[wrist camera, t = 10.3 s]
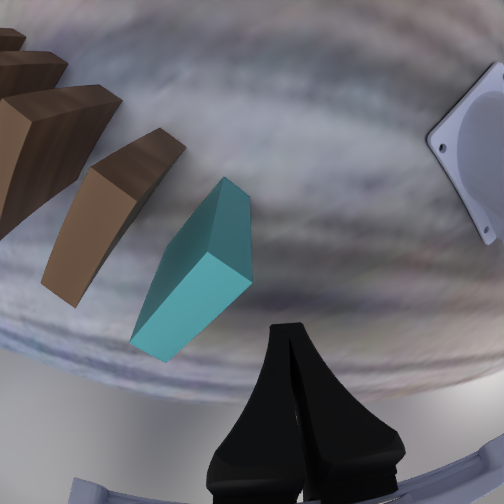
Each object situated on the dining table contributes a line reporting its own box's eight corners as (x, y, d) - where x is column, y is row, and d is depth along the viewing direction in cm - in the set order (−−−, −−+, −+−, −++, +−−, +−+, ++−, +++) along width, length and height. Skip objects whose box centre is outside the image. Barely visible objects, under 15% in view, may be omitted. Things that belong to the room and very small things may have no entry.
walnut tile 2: (186, 147, 13) (137, 201, 7) (132, 221, 15) (75, 308, 9) (160, 127, 13) (90, 167, 7) (109, 204, 15) (40, 283, 9)
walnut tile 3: (122, 100, 12) (32, 122, 6) (76, 180, 14) (-5, 245, 8) (99, 84, 11) (1, 98, 5) (56, 164, 13) (-30, 221, 7)
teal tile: (249, 196, 15) (252, 282, 9) (190, 262, 17) (165, 363, 11) (223, 176, 14) (207, 251, 8) (167, 246, 16) (129, 342, 10)
